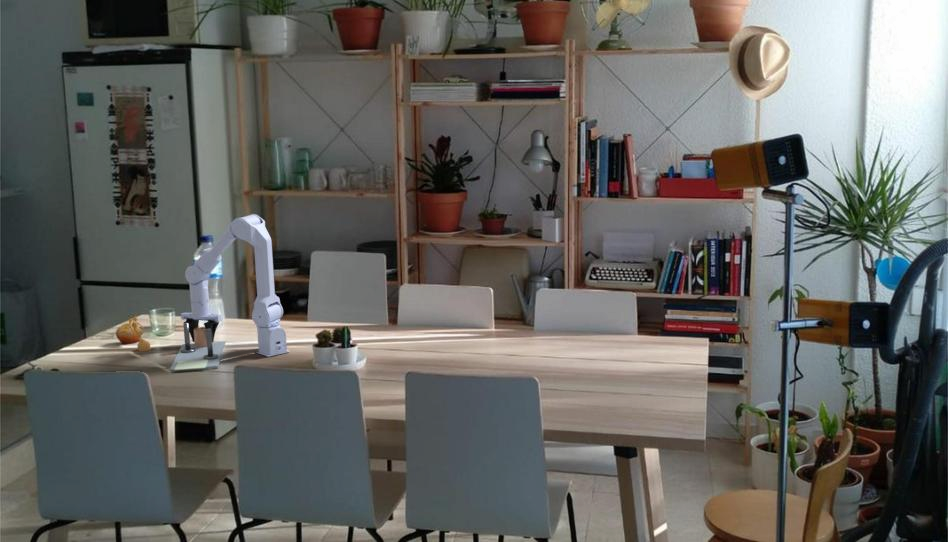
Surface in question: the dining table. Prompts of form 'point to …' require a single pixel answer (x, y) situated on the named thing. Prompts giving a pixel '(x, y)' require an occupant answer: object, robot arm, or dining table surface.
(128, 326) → the fruit
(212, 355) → the posts
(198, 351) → the board
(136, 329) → the figurine
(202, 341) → the octagonal hollow tube
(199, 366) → the pad
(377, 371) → the dining table surface
